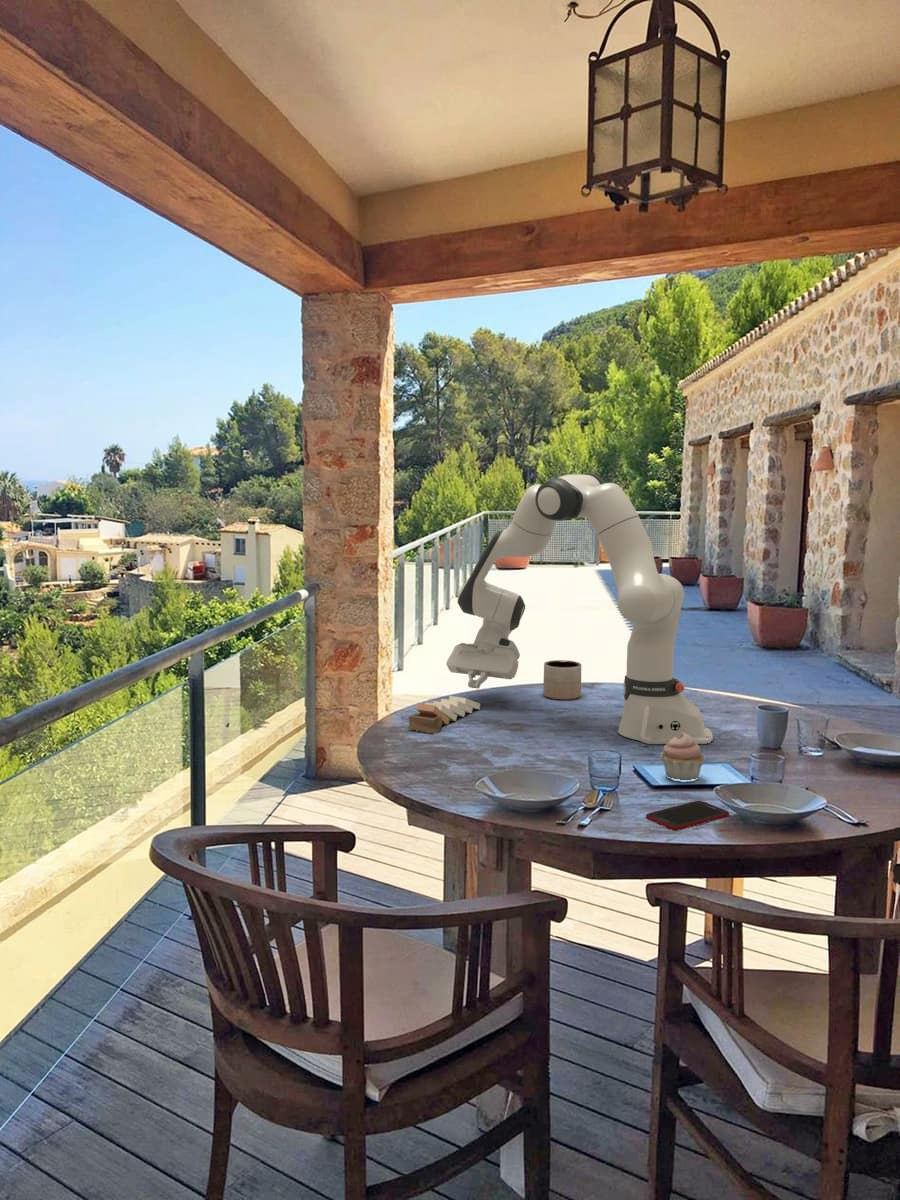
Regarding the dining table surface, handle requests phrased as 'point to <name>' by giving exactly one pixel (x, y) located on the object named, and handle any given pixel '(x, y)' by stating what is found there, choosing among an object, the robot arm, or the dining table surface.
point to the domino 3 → (452, 708)
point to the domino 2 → (444, 711)
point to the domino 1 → (432, 712)
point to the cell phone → (687, 815)
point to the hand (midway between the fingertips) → (473, 686)
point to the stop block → (425, 723)
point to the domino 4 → (458, 705)
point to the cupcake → (682, 758)
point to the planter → (562, 679)
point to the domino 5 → (466, 702)
